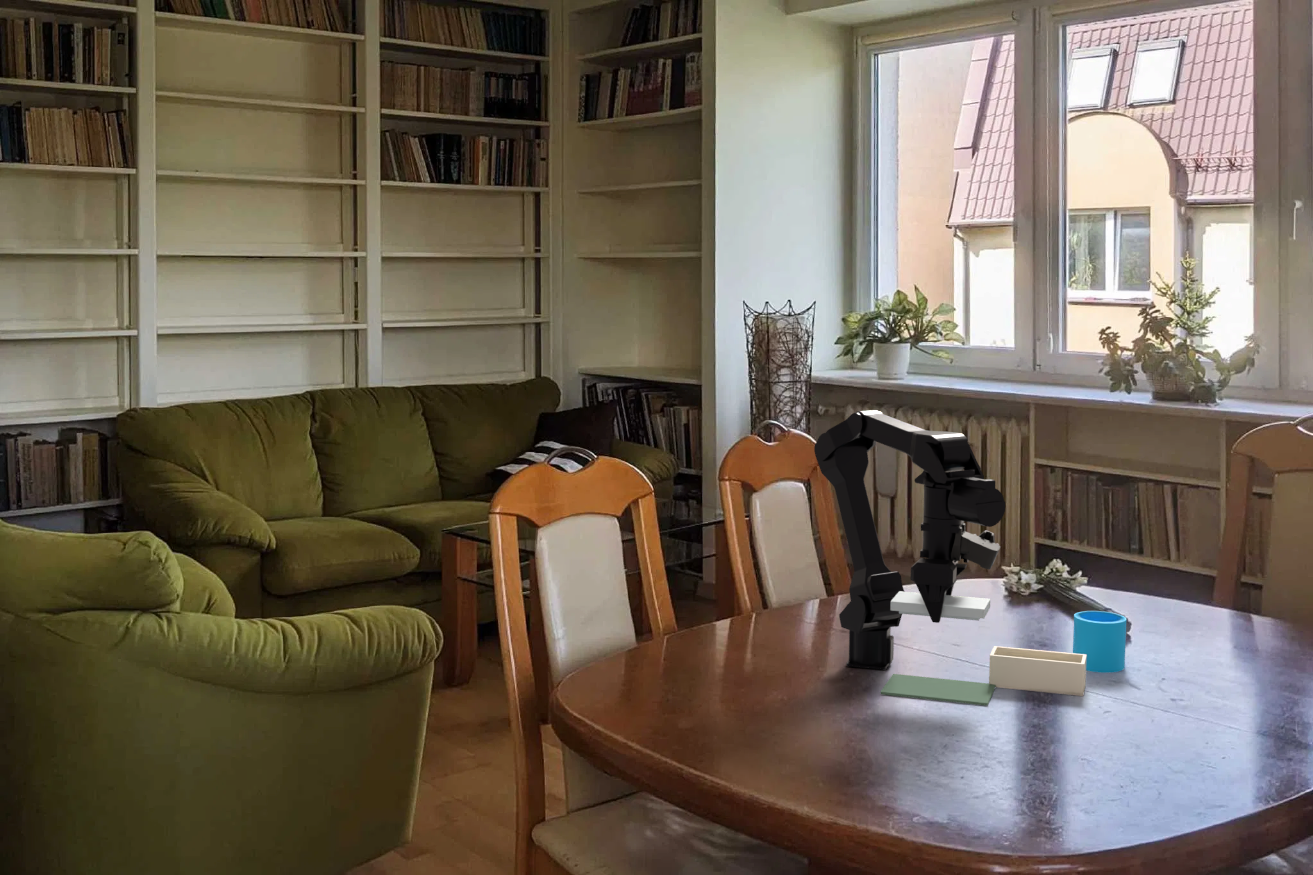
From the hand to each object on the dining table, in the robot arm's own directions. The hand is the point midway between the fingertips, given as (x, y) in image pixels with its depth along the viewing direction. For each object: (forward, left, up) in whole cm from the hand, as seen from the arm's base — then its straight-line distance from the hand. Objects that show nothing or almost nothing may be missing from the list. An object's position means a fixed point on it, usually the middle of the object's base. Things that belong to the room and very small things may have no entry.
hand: (940, 616), depth 205 cm
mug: (+23, +24, -12) cm, 36 cm away
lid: (0, 0, +1) cm, 1 cm away
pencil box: (+14, +7, -12) cm, 20 cm away
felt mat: (0, 0, -12) cm, 12 cm away
